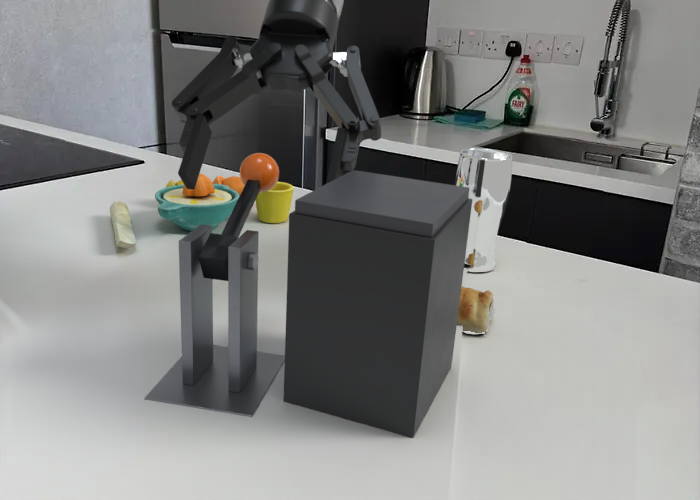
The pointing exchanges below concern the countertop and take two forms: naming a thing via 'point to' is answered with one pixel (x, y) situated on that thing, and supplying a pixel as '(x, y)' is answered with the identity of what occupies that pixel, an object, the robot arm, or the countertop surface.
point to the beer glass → (484, 200)
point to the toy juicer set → (203, 205)
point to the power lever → (238, 214)
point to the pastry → (475, 310)
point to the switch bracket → (197, 335)
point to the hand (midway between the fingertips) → (257, 189)
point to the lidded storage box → (374, 297)
